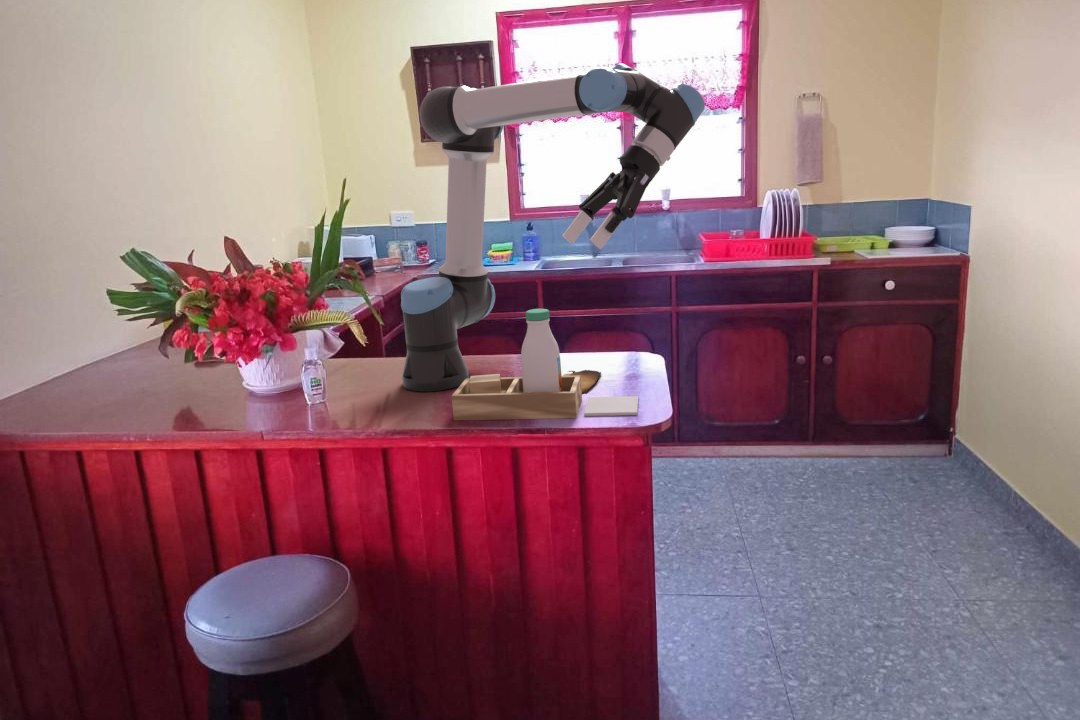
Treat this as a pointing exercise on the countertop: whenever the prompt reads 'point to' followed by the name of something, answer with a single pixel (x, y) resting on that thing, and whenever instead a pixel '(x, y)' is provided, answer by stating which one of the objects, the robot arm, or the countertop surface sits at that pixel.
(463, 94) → the robot arm
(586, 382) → the parchment
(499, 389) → the offcut top
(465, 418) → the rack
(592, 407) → the coaster
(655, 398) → the countertop surface
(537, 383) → the milk bottle
